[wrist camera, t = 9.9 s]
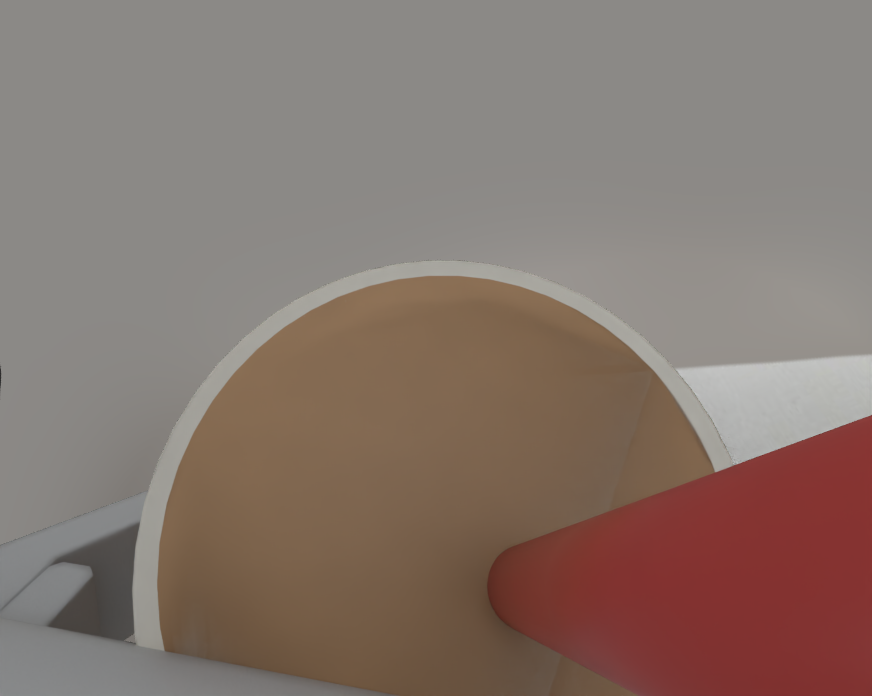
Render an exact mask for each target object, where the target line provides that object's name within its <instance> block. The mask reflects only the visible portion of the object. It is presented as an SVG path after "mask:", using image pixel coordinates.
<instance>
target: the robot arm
mask: <svg viewBox="0 0 872 696" xmlns="http://www.w3.org/2000/svg"><path fill="white" fill-rule="evenodd" d="M147 493H148V490H147V491H145V492H142V493H139V494H137V495H134V496H131V497H128V498H126V499H123V500H121V501H118V502H115V503H112V504H110V505H107V506H104V507H102V508H99V509H96V510H93V511H91V512H88V513H85V514H83V515H80V516H77V517H75V518H72V519H69V520H67V521H64V522H61V523H58V524H56V525H53V526H50V527H48V528H45V529H43V530H40V531H37V532H34V533H31V534H29V535H26V536H23V537H21V538H18V539H15V540H13V541H10V542H7V543H4V544H2V545H0V696H398V695H392V694H387V693H382V692H377V691H371V690H366V689H361V688H356V687H350V686H345V685H340V684H335V683H329V682H324V681H319V680H314V679H308V678H303V677H298V676H293V675H288V674H282V673H277V672H272V671H267V670H261V669H256V668H251V667H246V666H240V665H235V664H230V663H225V662H219V661H214V660H209V659H204V658H198V657H193V656H188V655H183V654H177V653H172V652H167V651H162V650H156V649H151V648H146V647H141V646H137V645H136V643H132V642H127V641H124V640H125V639H127V638H128V637H130V636H131V635H133V634H134V615H133V595H132V587H133V574H134V560H135V547H136V541H137V536H138V531H139V526H140V521H141V516H142V511H143V506H144V502H145V499H146V496H147Z"/></svg>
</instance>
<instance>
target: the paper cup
mask: <svg viewBox="0 0 872 696" xmlns="http://www.w3.org/2000/svg"><path fill="white" fill-rule="evenodd" d="M132 595H133V615H134V634H135V642H136V645H137V646H141V647H146V648H151V649H156V650H162V651H167V652H172V653H177V654H183V655H188V656H193V657H198V658H204V659H209V660H214V661H219V662H225V663H230V664H235V665H240V666H246V667H251V668H256V669H261V670H267V671H272V672H277V673H282V674H288V675H293V676H298V677H303V678H308V679H314V680H319V681H324V682H329V683H335V684H340V685H345V686H350V687H356V688H361V689H366V690H371V691H377V692H382V693H387V694H392V695H398V696H872V415H871V416H868V417H865V418H863V419H860V420H857V421H854V422H852V423H849V424H846V425H843V426H841V427H838V428H835V429H833V430H830V431H827V432H824V433H822V434H819V435H816V436H813V437H811V438H808V439H805V440H802V441H800V442H797V443H794V444H792V445H789V446H786V447H783V448H781V449H778V450H775V451H772V452H770V453H767V454H764V455H761V456H759V457H756V458H753V459H751V460H748V461H745V462H742V463H740V464H737V465H733V462H732V459H731V457H730V455H729V453H728V451H727V449H726V447H725V445H724V443H723V441H722V439H721V437H720V435H719V433H718V431H717V429H716V427H715V425H714V423H713V421H712V420H711V418H710V417H709V415H708V414H707V412H706V411H705V409H704V408H703V406H702V404H701V403H700V401H699V400H698V398H697V397H696V395H695V394H694V392H693V391H692V389H691V388H690V387H689V386H688V384H687V383H686V382H685V381H684V380H683V378H682V377H681V376H680V375H679V374H678V372H677V371H676V370H675V369H674V367H673V366H672V365H671V364H670V363H669V361H668V360H667V359H666V358H664V356H662V355H661V354H660V353H659V352H658V351H657V350H656V349H655V348H654V347H653V346H652V345H651V344H650V343H649V342H648V341H647V340H646V339H645V338H644V337H643V336H642V335H641V334H639V333H638V332H637V331H635V330H634V329H633V328H631V327H630V326H629V325H628V324H626V323H625V322H624V321H622V320H621V319H620V318H619V317H617V316H616V315H615V314H613V313H612V312H610V311H608V310H607V309H605V308H603V307H602V306H600V305H598V304H597V303H595V302H594V301H592V300H590V299H589V298H587V297H585V296H584V295H581V294H579V293H577V292H575V291H573V290H571V289H569V288H566V287H564V286H562V285H560V284H558V283H556V282H554V281H551V280H547V279H545V278H542V277H539V276H536V275H533V274H530V273H527V272H524V271H520V270H516V269H512V268H507V267H503V266H498V265H494V264H487V263H478V262H468V261H460V260H441V261H440V260H426V261H418V262H409V263H399V264H393V265H388V266H384V267H379V268H375V269H371V270H367V271H362V272H359V273H357V274H354V275H351V276H348V277H345V278H342V279H339V280H336V281H333V282H331V283H329V284H327V285H325V286H323V287H320V288H318V289H316V290H314V291H312V292H310V293H308V294H306V295H304V296H302V297H300V298H298V299H297V300H296V301H294V302H292V303H290V304H289V305H287V306H286V307H284V308H282V309H281V310H279V311H278V312H276V313H274V314H273V315H271V316H270V317H269V318H268V319H266V320H265V321H264V322H263V323H261V324H260V325H259V326H258V327H256V328H255V329H254V330H253V331H251V332H250V333H249V334H248V335H246V336H245V337H244V338H243V339H242V340H241V341H240V342H239V343H238V344H237V345H236V346H235V347H234V348H233V349H232V350H231V351H230V352H229V353H228V354H227V355H226V356H225V357H224V358H223V359H222V360H221V361H220V362H219V363H218V364H217V365H216V367H215V368H214V369H213V371H212V372H211V373H210V374H209V376H208V377H207V378H206V380H205V381H204V382H203V383H202V384H201V386H200V387H199V388H198V390H197V391H196V392H195V393H194V395H193V397H192V399H191V400H190V402H189V403H188V405H187V406H186V408H185V410H184V411H183V413H182V415H181V416H180V418H179V419H178V421H177V423H176V424H175V426H174V428H173V430H172V432H171V434H170V437H169V439H168V441H167V444H166V445H165V448H164V449H163V452H162V454H161V456H160V459H159V460H158V462H157V465H156V469H155V471H154V474H153V477H152V480H151V483H150V486H149V489H148V493H147V496H146V499H145V502H144V506H143V511H142V516H141V521H140V526H139V531H138V536H137V541H136V547H135V560H134V574H133V587H132Z"/></svg>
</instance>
